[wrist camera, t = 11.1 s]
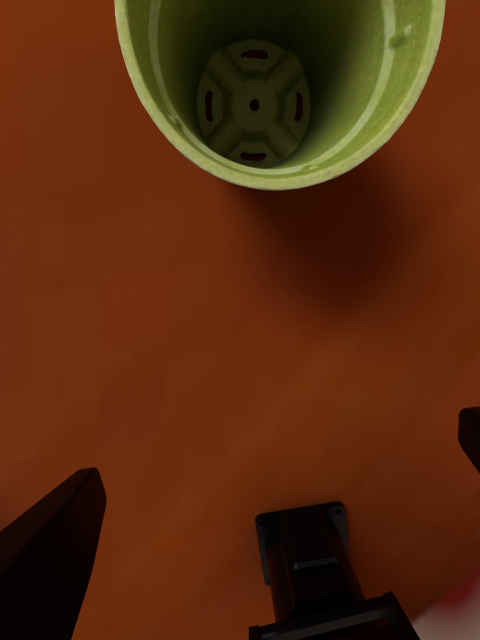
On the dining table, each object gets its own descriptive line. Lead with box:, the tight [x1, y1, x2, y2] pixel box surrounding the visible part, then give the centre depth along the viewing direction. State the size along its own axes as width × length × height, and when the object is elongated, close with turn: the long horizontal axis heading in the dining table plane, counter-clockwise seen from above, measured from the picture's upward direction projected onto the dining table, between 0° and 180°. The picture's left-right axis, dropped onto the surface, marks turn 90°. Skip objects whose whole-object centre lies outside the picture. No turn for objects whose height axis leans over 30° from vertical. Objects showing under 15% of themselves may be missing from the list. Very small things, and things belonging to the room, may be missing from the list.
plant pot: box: [114, 0, 446, 191], centre depth 14 cm, size 9×9×9 cm
